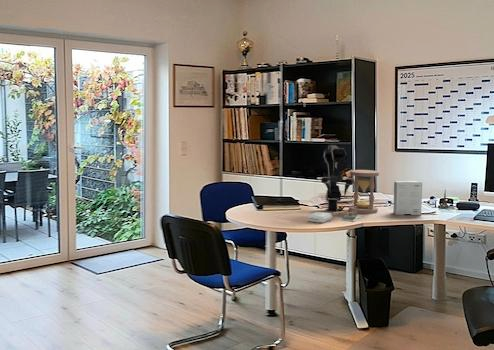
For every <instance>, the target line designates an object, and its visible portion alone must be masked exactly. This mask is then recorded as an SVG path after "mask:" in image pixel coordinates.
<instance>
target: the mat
mask: <svg viewBox="0 0 494 350" xmlns="http://www.w3.org/2000/svg"><path fill="white" fill-rule="evenodd" d="M347 215H349V213H348V214H347ZM362 217H363V215H361V214H357V215H356V219H354V220H348V219H343V217H342V218H341V219H340V221H346V222H356V221H358V220H359V219H360V218H362Z"/></svg>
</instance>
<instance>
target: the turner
mask: <svg viewBox="0 0 494 350" xmlns="http://www.w3.org/2000/svg"><path fill="white" fill-rule="evenodd" d="M348 214H349V215H348ZM348 214H345V215H343V217H342V218H343V219H348V220H354V219H356V215H358V213H357V210H352V211H349V212H348Z"/></svg>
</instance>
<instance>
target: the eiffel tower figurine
mask: <svg viewBox="0 0 494 350" xmlns="http://www.w3.org/2000/svg"><path fill="white" fill-rule="evenodd" d="M446 192H447V190H446V189H444V193H443V194H444V195H443V201H442V203H441V205H440V207H439V209H438V208H437V209H438V211H441V210H442V211H443V210H444V209H445V210H446V211H447V210H456V209H457V208H456V207H449V205H448V203H447V199H446V196H447V195H446ZM443 207H446V208H443Z"/></svg>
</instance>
